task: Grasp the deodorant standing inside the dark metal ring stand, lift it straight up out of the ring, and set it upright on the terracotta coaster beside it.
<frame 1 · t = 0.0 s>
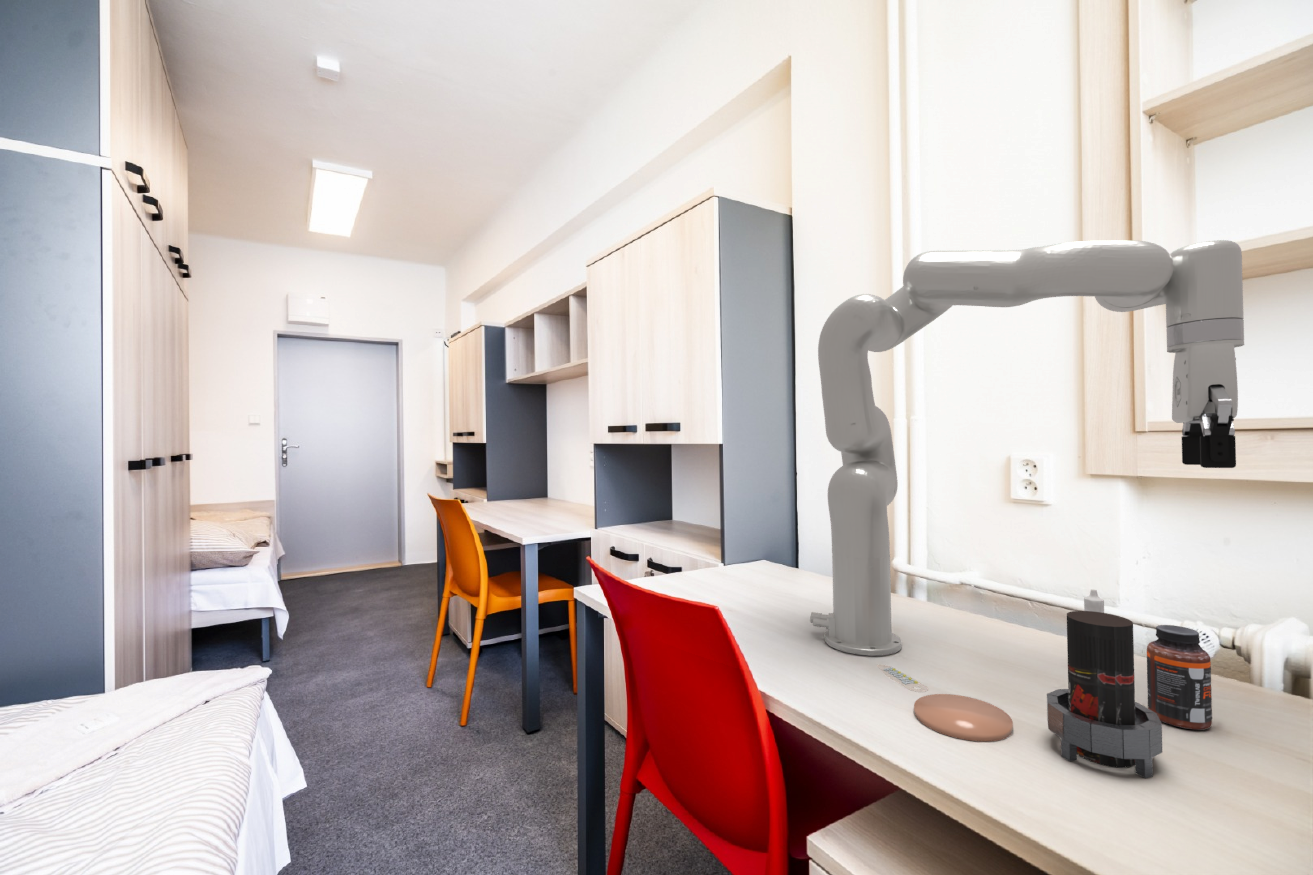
hand: (1207, 466, 77), 31 cm above the table, tool pointing down, fingers open, 9 cm apart
deodorant: (1102, 754, 65), on the table
coaster: (961, 719, 73), on the table
keychain: (899, 680, 86), on the table
supplement bottle: (1179, 722, 72), on the table
eye dropper bottle: (1095, 669, 88), on the table
ring stand: (1102, 752, 65), on the table
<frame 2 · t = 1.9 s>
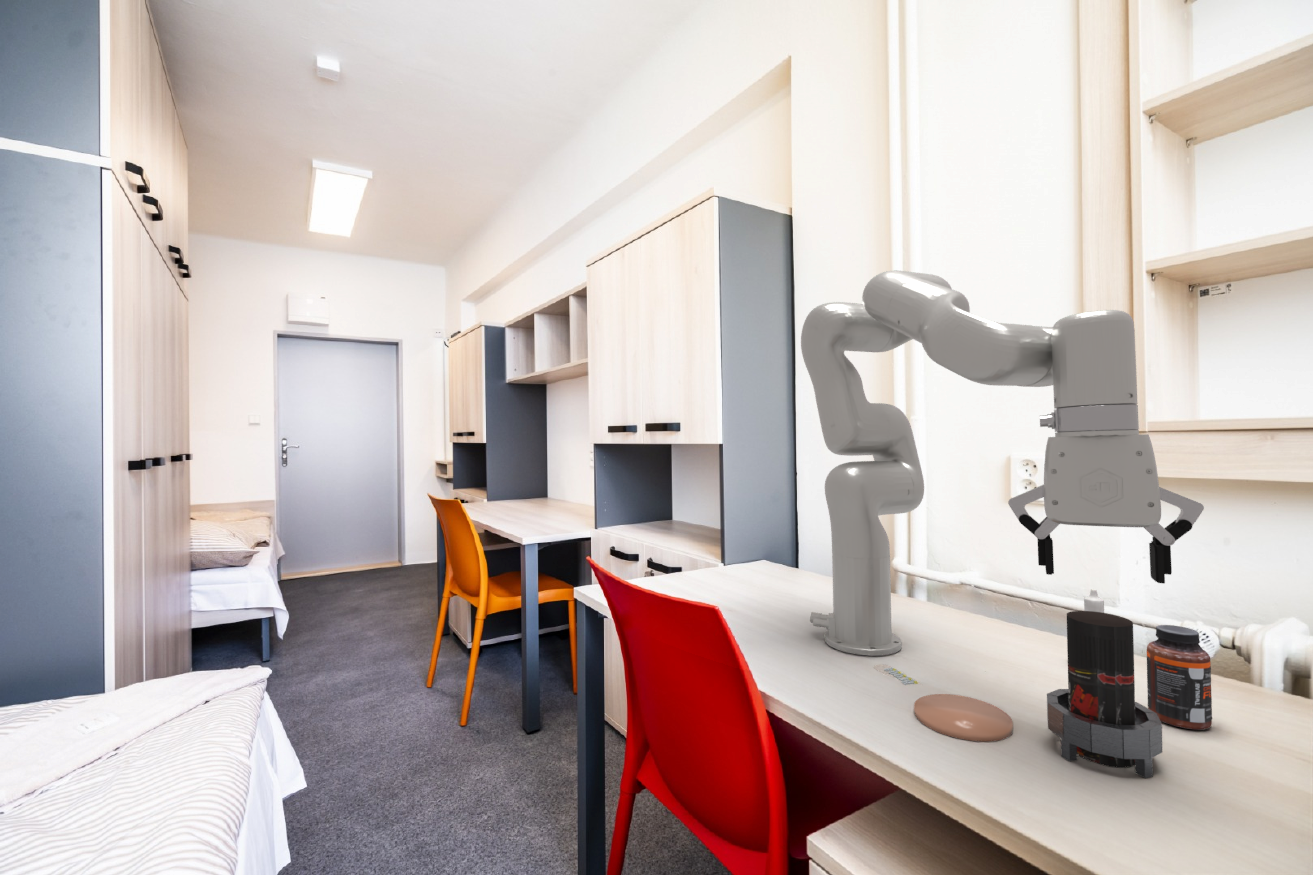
hand: (1101, 576, 65), 20 cm above the table, tool pointing down, fingers open, 9 cm apart
nothing on the table moved.
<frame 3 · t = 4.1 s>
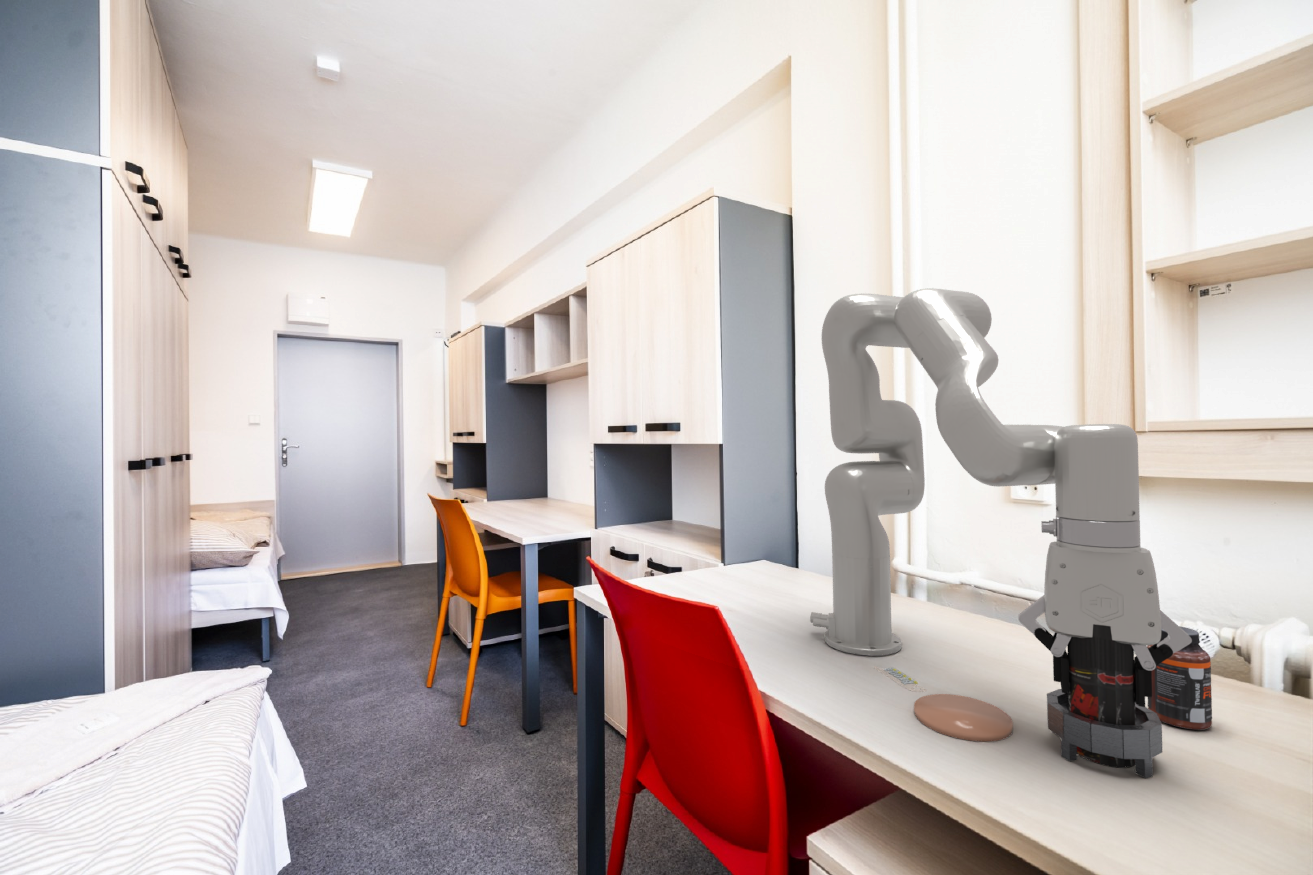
hand: (1100, 693, 65), 7 cm above the table, tool pointing down, fingers closed on deodorant, 6 cm apart
deodorant: (1102, 754, 65), on the table, touching gripper
everything else where it was.
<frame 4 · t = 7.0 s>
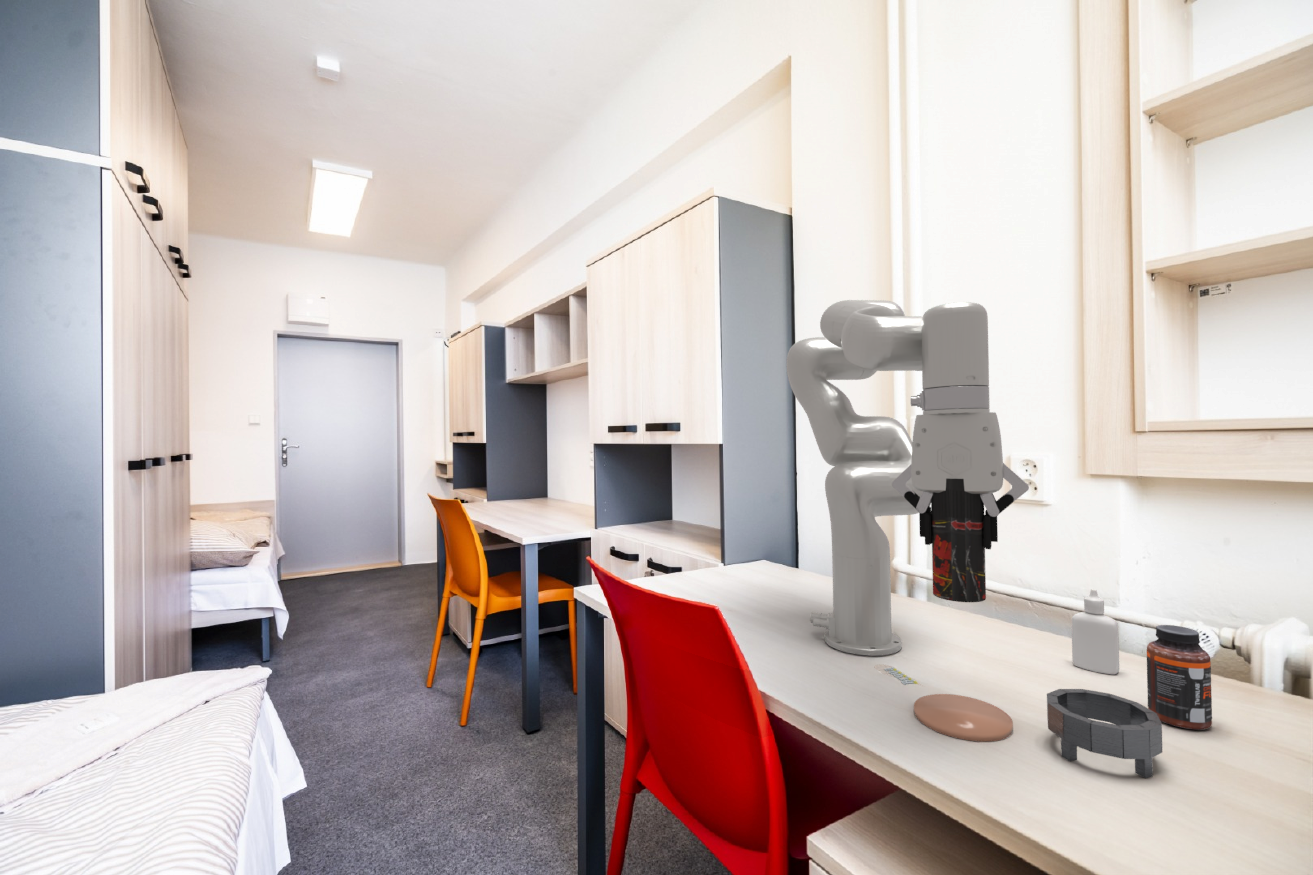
hand: (957, 543, 74), 22 cm above the table, tool pointing down, fingers closed on deodorant, 6 cm apart
deodorant: (958, 597, 73), point 15 cm above the table, touching gripper
everything else where it was.
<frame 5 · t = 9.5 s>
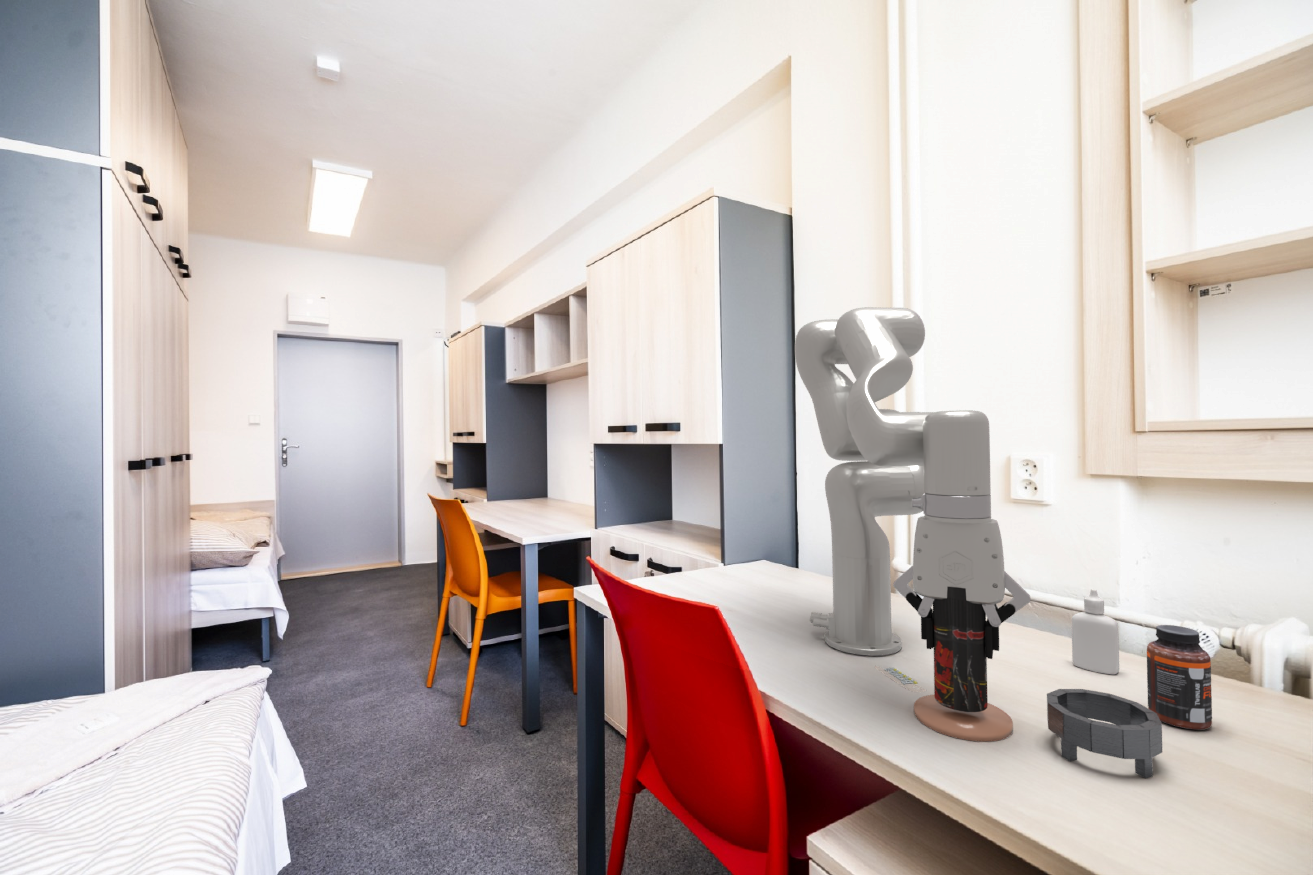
hand: (959, 649, 73), 9 cm above the table, tool pointing down, fingers closed on deodorant, 6 cm apart
deodorant: (960, 702, 73), point 2 cm above the table, touching gripper
everything else where it was.
when the fingers open (9 cm above the table, at t = 10.2 s): deodorant drops 1 cm, resting on coaster.
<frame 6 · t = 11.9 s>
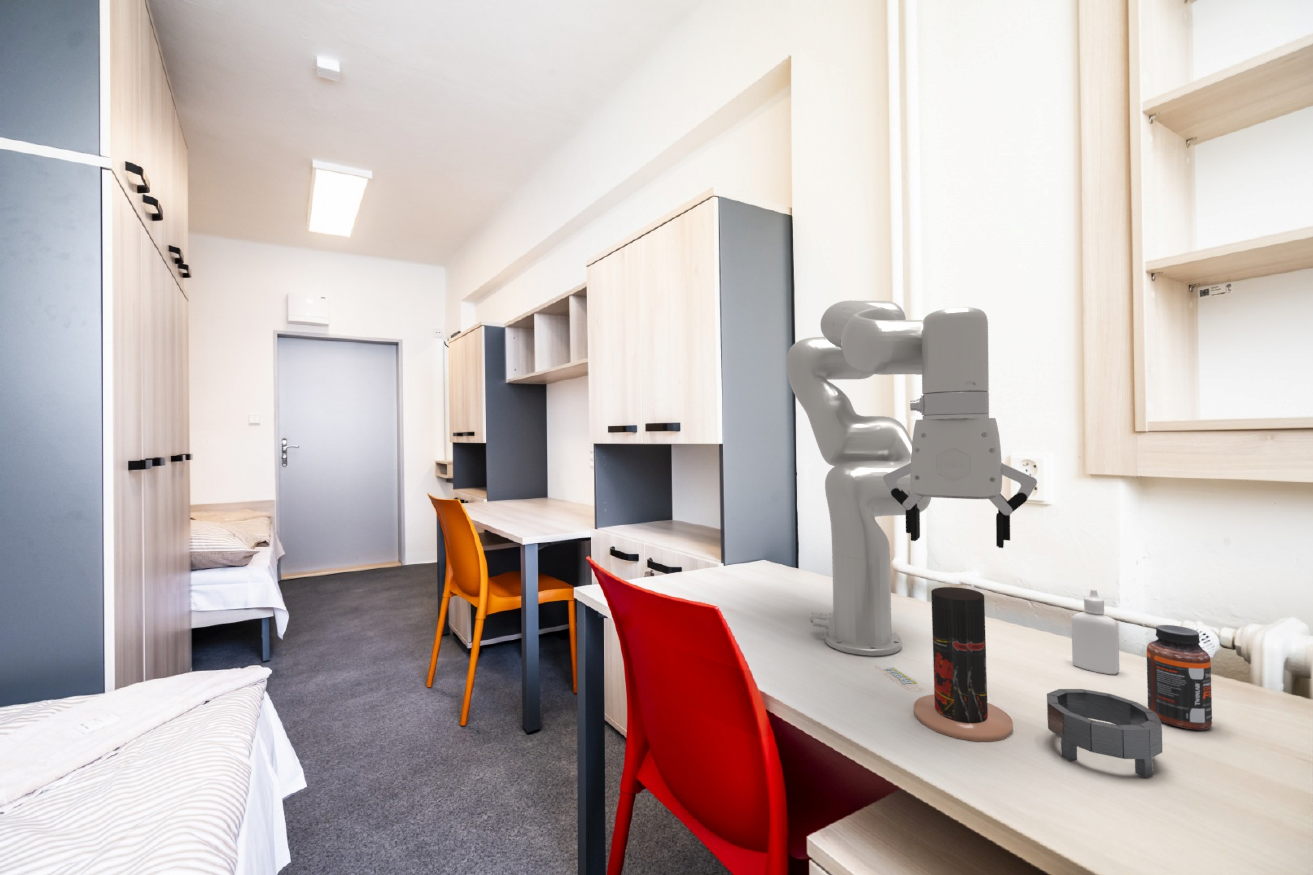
hand: (956, 542, 74), 22 cm above the table, tool pointing down, fingers open, 9 cm apart
deodorant: (960, 713, 73), point 1 cm above the table, touching coaster
everything else where it was.
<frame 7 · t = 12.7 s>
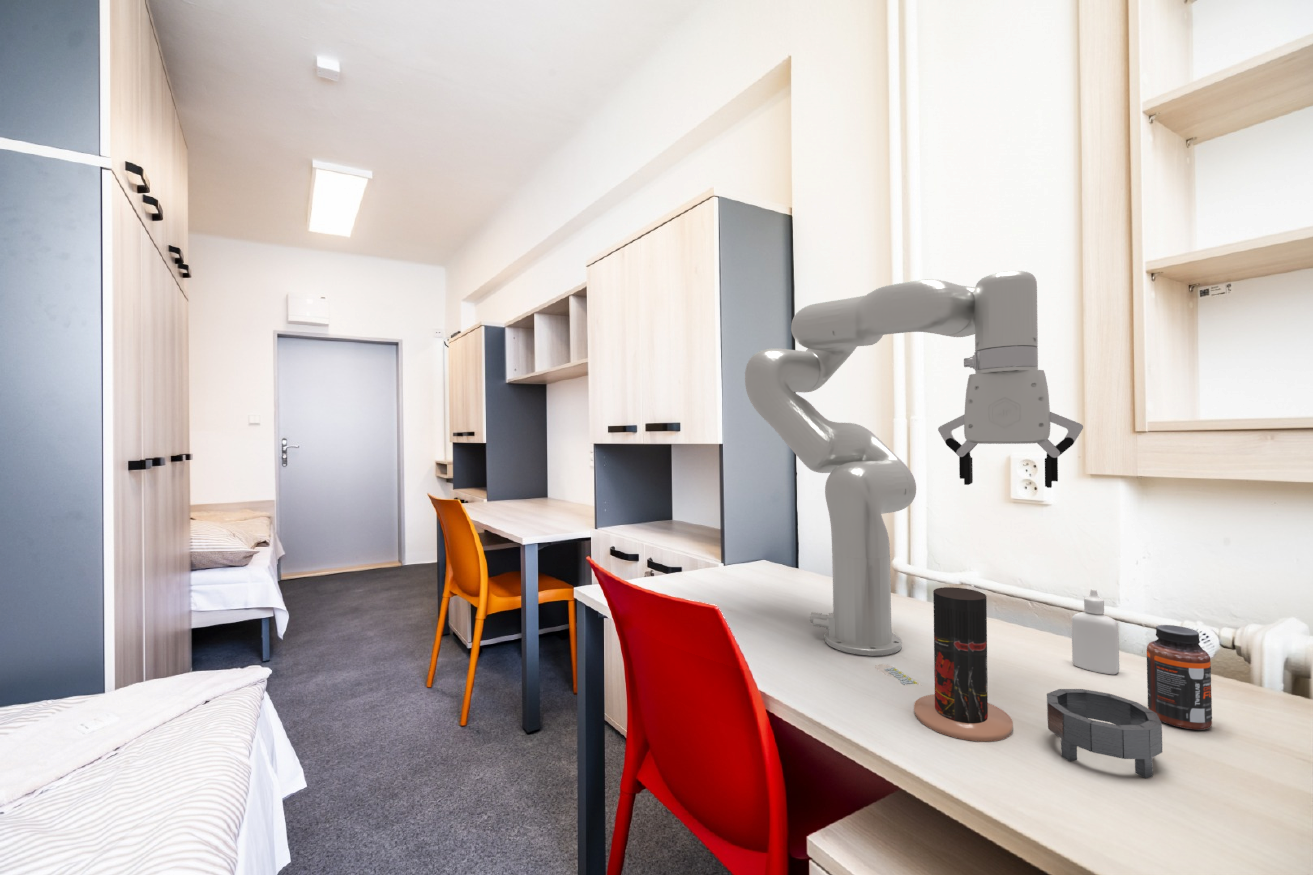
hand: (1007, 485, 81), 29 cm above the table, tool pointing down, fingers open, 9 cm apart
nothing on the table moved.
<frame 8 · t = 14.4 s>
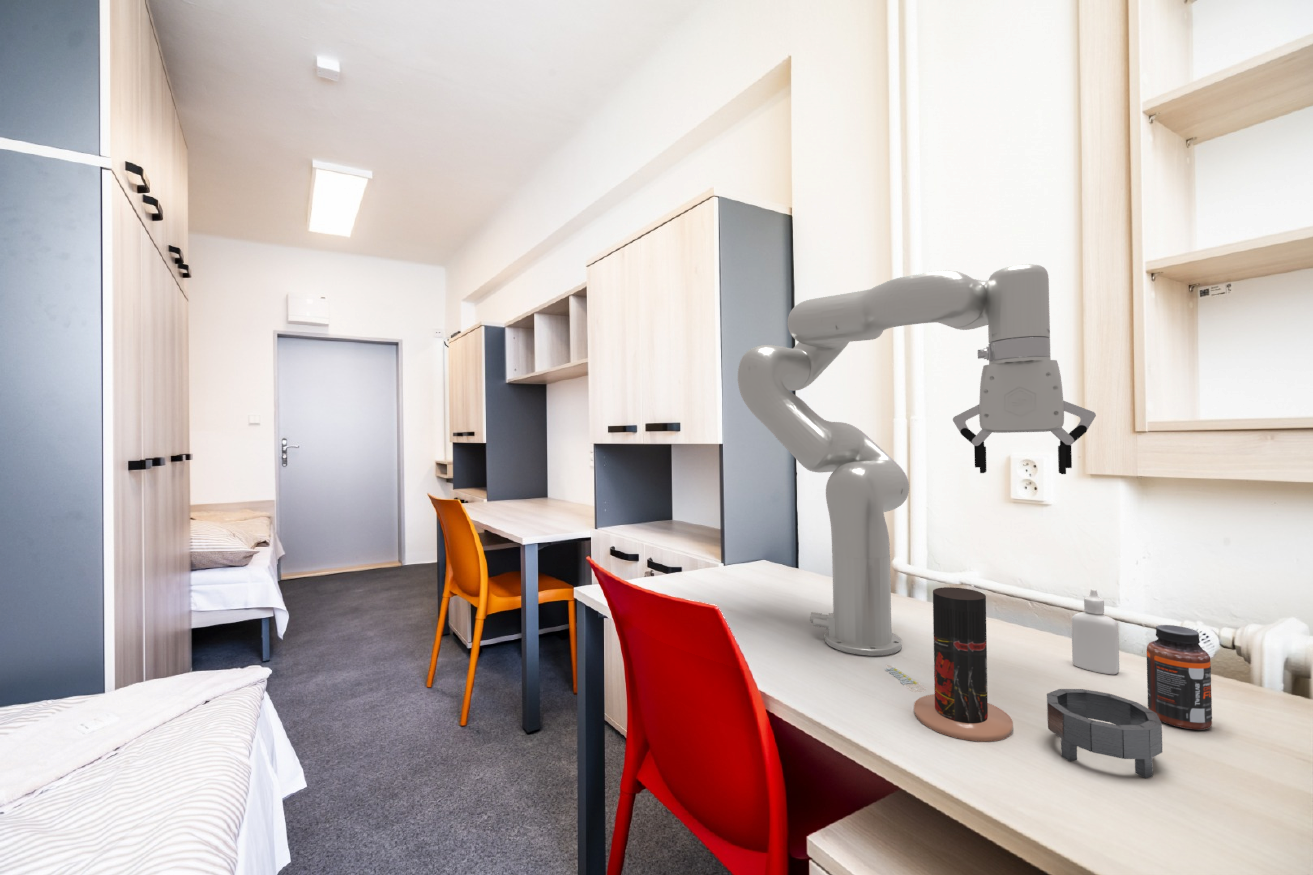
hand: (1021, 473, 83), 30 cm above the table, tool pointing down, fingers open, 9 cm apart
nothing on the table moved.
at the end: deodorant 0.1 cm off-centre on the coaster, point 0.6 cm above the coaster's base; deodorant tilted 1°; the gripper is holding nothing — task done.
